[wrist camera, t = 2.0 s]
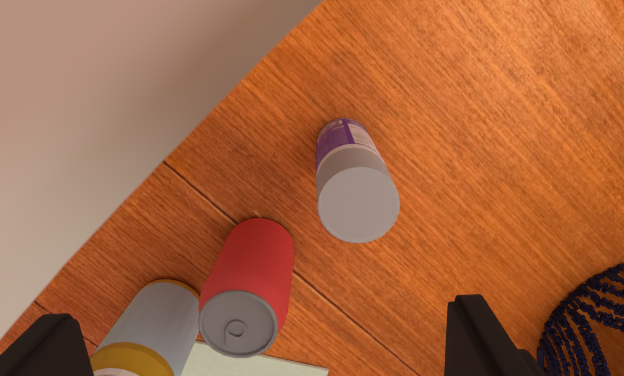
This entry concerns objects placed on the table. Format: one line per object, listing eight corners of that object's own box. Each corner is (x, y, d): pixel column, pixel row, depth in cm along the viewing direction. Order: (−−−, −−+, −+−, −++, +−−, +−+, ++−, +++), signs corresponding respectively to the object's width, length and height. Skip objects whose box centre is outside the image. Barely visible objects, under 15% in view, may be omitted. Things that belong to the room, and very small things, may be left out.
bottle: (200, 340, 43) (143, 483, 29) (133, 326, 43) (42, 463, 29) (211, 284, 41) (156, 409, 27) (141, 268, 41) (48, 386, 27)
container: (318, 171, 37) (317, 247, 23) (314, 119, 36) (312, 167, 22) (370, 168, 37) (402, 243, 23) (369, 115, 36) (402, 161, 21)
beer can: (216, 261, 40) (177, 346, 29) (241, 204, 38) (208, 270, 27) (279, 286, 41) (264, 377, 30) (305, 231, 39) (300, 306, 28)
